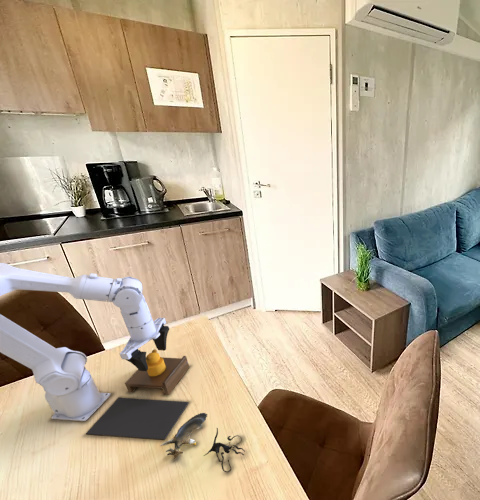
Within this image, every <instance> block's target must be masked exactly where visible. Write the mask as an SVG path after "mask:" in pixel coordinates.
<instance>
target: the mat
mask: <svg viewBox="0 0 480 500" xmlns="http://www.w3.org/2000/svg"><path fill="white" fill-rule="evenodd" d="M188 405H189V401H179V400H165V399H163V400H162V399H149V398H134V397H133V398H132V397H118V398H117V399H116V400H115V401H114V402H113V403H112V404H111V405H110V406H109V407H108V409H106V411H105V412H104V413H103V414H102V415H101V416H100V417H99V418H98V420H96V422H95V423H94V424H93V425H92V426H91V427H90V428H89V429H88V431H87V432H86V433H85V434H86V435H88V436H89V435H91V436H103V437H116V438H117V437H118V438H128V439H129V438H131V439H144V440H159V441H165V440H166V439H167V437H168V436H169V434H170V433H171V431H172V430H173V428H174V426H175V425H176V424H177V422H178V420H179V419H180V417H181V416H182V414H183V413H184V411H185V410H186V408H187V406H188Z"/></svg>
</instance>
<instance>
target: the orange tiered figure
mask: <svg viewBox="0 0 480 500" xmlns="http://www.w3.org/2000/svg"><path fill="white" fill-rule="evenodd" d="M162 357H163V356H161V355H160V353H159V352H158V349H157V348H156V349H153V350H152V351H151V352H150V353H148V354H146V362H147V365H148V370H147V372H148V375H149V376H157V375H160V374H161V373H163V372H164V371H165V369H166V366H165V363H164V360H163V358H162Z"/></svg>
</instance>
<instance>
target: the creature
mask: <svg viewBox="0 0 480 500" xmlns="http://www.w3.org/2000/svg"><path fill="white" fill-rule="evenodd" d="M218 434H219V429H218V427H216V432H215V436H214V438H213V439H214V440H213V443H212V446H211V448H210V449H209V450H208V451H207V453H205V454H203V457H205V456H207V455H208V454H210V453H211V452H215V455H216V457H217V460H218V462H219V463H221V464H220V465H221V469H222V471H223V472H224V473H230V472H231V471H232V466H231V464H230V459H227V462H228V466H229V468H230V469H229V470H228V471H227V470H225V469H224V465H223V464H224V463H226V461H224V459H225V457H224V454H230V453H231V451H233V452H234V453H235V454H236V455H238V454H241V455H242V456H245V454H244V453H245V452H246V450H245V449H243V448H242V447H238V446H237V445H239V444H240V442H243V439H242V437H241V436H240V435H238V434H237V435H234V436H231V435H228V436H227V437H226V438H227V440H228V441H229V442H228V444H225V443H223V442H217V438H218ZM236 437H239V438H240V439H241V440H240V442H237V444H233V445H231V442H232V440H234V439H235V438H236ZM220 448H222V449H223V451H221V452H220V450H221V449H220ZM234 448H236V449H234ZM237 450H238V451H237ZM239 450H241V451H243V452H244V453H243V452H241V451H239ZM218 454H220V456H221V459H222V460H221V459H220V457H219V455H218ZM235 454H234V455H235Z"/></svg>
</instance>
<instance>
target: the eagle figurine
mask: <svg viewBox="0 0 480 500" xmlns="http://www.w3.org/2000/svg"><path fill="white" fill-rule="evenodd" d="M207 418H208V413H206V412H200V413H198V414H195V415H194V416H192V417H191V418H189V419H188V420H187V421H185V422H184V423H183V424H182V425H181V426H180V427H179V428H178V430H177V432H176V433H175V434H174V435H173V437H172V438H171V439H169V440H167V441H165V442H163V443H160V444H159V446H160V447H162V446H169V445H171V444H174V449H173V448H171V447H170V448H169V449H166V450H165V453H166V456H173V459H174V460H176V459H177V458H178V457H179V455H182V454H184V451H183V450H180V449H181V446H186V445H194V446H196V445H197V443H196V441H195V439H193V438H190V436H191V435H192V433H193V432H195V431H196V430H198V429H200V428H202V427H203V423H204V422H206V420H207Z"/></svg>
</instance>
